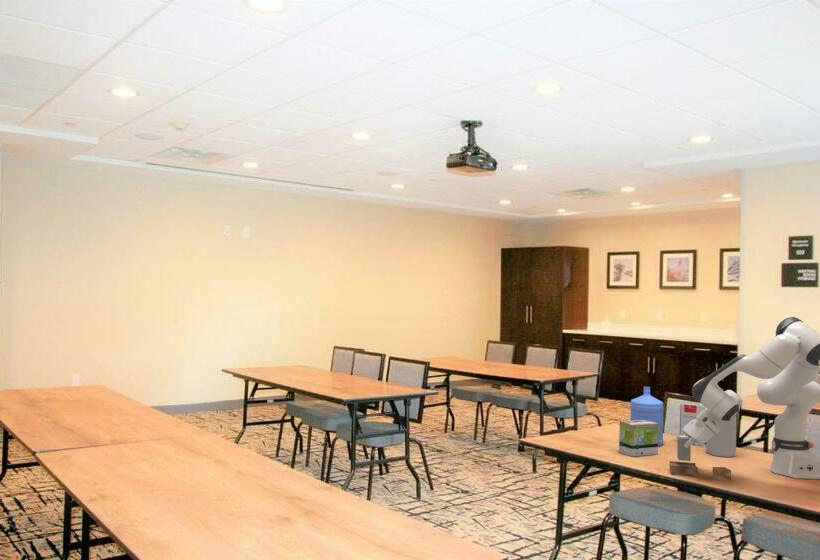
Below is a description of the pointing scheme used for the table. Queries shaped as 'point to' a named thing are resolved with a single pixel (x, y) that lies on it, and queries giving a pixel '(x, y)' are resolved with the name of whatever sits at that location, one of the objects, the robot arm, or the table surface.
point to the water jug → (648, 411)
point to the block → (721, 473)
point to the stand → (683, 468)
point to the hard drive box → (689, 415)
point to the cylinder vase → (723, 440)
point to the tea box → (638, 438)
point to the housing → (683, 448)
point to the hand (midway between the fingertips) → (682, 444)
